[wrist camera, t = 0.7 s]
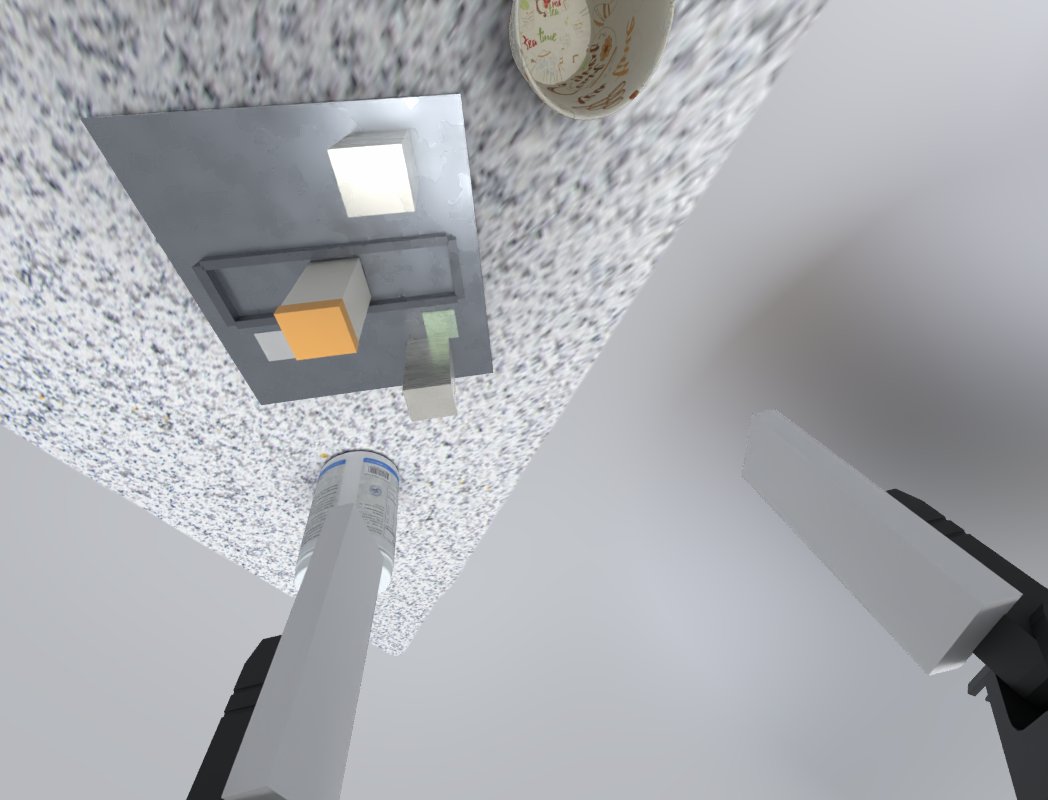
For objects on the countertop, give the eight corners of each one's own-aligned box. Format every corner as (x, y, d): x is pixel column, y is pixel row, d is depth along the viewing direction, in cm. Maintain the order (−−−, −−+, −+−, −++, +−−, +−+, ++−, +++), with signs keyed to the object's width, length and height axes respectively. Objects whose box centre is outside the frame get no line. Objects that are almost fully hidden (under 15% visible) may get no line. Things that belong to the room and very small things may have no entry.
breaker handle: (324, 302, 35) (296, 360, 28) (308, 262, 32) (273, 314, 25) (372, 296, 35) (356, 352, 28) (359, 256, 33) (339, 306, 26)
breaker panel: (265, 395, 41) (230, 463, 34) (96, 116, 26) (-34, 133, 19) (491, 364, 44) (503, 422, 37) (459, 93, 28) (468, 100, 21)
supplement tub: (333, 499, 53) (306, 612, 42) (311, 452, 47) (273, 568, 36) (406, 491, 55) (399, 597, 44) (394, 443, 49) (382, 552, 38)
